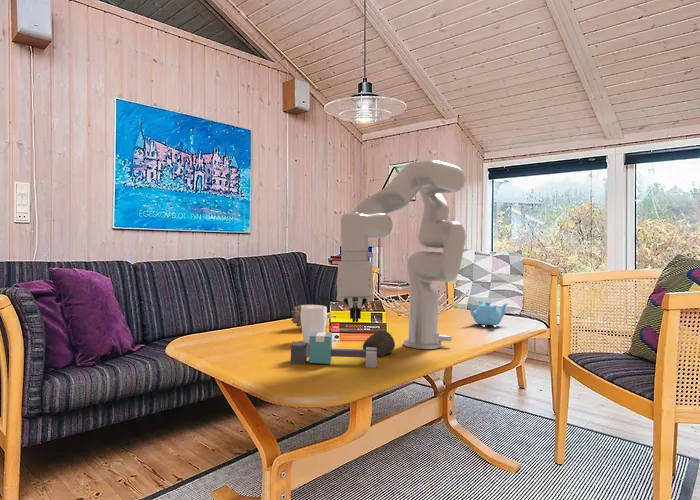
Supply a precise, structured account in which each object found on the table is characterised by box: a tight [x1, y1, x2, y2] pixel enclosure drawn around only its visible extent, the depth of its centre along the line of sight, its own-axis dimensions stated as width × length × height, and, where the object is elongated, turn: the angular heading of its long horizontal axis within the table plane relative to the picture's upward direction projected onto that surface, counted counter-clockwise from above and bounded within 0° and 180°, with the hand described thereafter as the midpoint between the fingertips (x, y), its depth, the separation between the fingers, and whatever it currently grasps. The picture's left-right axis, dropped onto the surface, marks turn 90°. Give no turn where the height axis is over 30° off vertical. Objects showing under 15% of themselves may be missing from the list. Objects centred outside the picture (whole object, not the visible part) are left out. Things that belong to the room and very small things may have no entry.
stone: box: [362, 330, 396, 358], centre depth 146 cm, size 10×8×10 cm
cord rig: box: [290, 341, 378, 369], centre depth 133 cm, size 24×7×5 cm, turn 88°
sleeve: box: [308, 331, 333, 365], centre depth 133 cm, size 6×5×8 cm
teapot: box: [468, 299, 509, 326], centre depth 198 cm, size 13×13×10 cm
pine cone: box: [290, 303, 331, 329], centre depth 184 cm, size 22×10×10 cm, turn 136°
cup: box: [300, 304, 328, 345], centre depth 160 cm, size 9×9×12 cm
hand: (355, 321), depth 134 cm, fingers closed
